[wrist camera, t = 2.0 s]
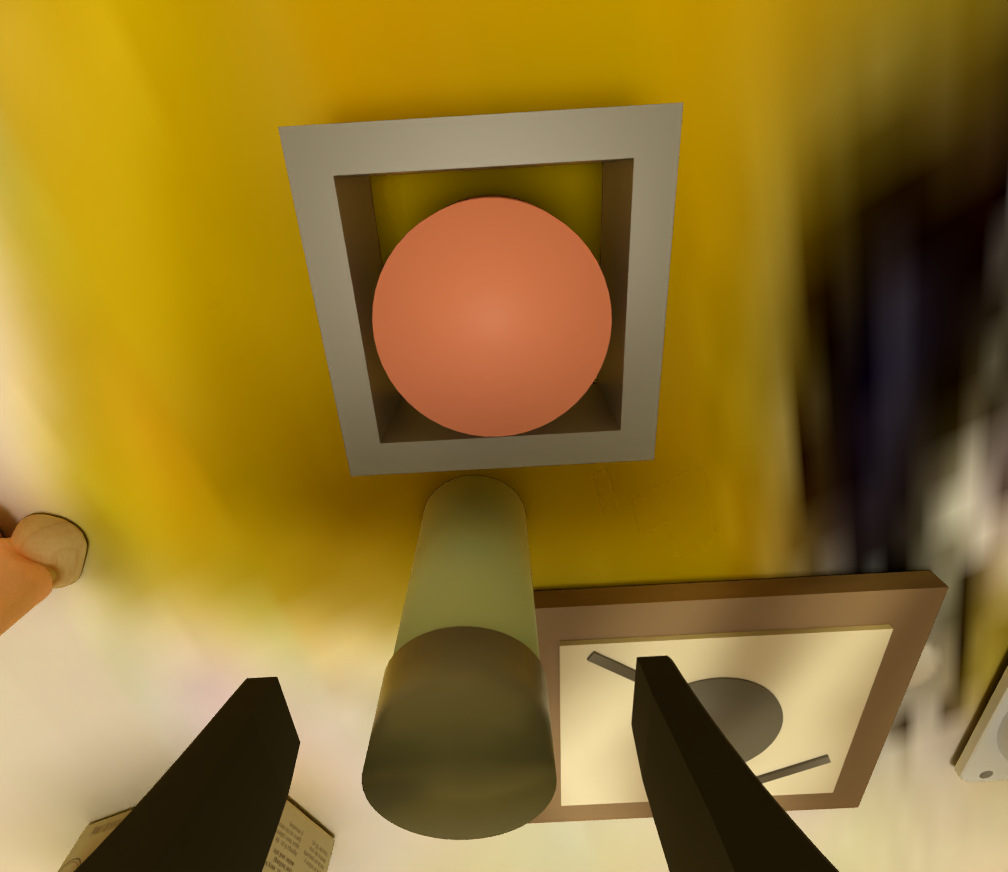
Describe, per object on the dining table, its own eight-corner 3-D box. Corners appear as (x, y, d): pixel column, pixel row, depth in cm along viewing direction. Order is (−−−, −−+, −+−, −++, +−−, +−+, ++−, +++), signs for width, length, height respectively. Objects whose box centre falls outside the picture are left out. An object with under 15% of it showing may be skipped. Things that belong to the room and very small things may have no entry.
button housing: (639, 120, 12) (683, 102, 9) (624, 408, 15) (653, 459, 12) (327, 138, 12) (278, 126, 9) (376, 422, 15) (350, 476, 12)
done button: (591, 189, 11) (616, 191, 9) (588, 387, 13) (607, 430, 11) (381, 201, 11) (352, 207, 9) (408, 396, 13) (391, 442, 11)
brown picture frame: (930, 570, 18) (955, 593, 17) (846, 787, 23) (862, 814, 22) (511, 592, 18) (512, 616, 17) (524, 803, 23) (525, 831, 22)
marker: (527, 469, 16) (556, 716, 8) (531, 560, 17) (557, 835, 10) (413, 475, 16) (345, 726, 8) (426, 565, 17) (378, 843, 10)
